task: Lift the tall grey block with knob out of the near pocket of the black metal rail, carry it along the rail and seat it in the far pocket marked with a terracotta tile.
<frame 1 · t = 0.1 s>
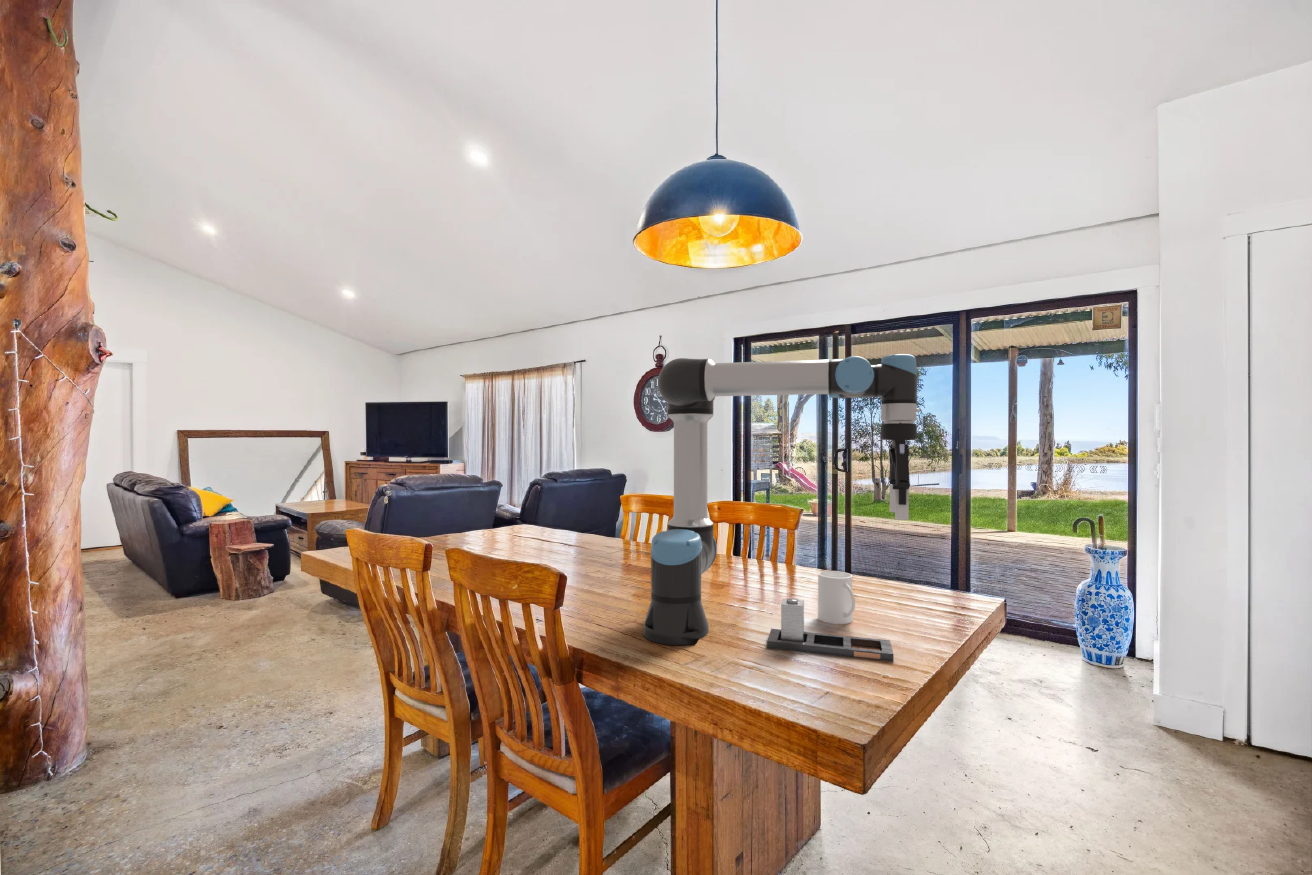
hand: (898, 515, 134), 28 cm above the table, fingers open, 13 cm apart
mug: (838, 625, 143), on the table
rail: (828, 652, 124), on the table
grey block with knob: (792, 643, 127), point 1 cm above the table, touching rail
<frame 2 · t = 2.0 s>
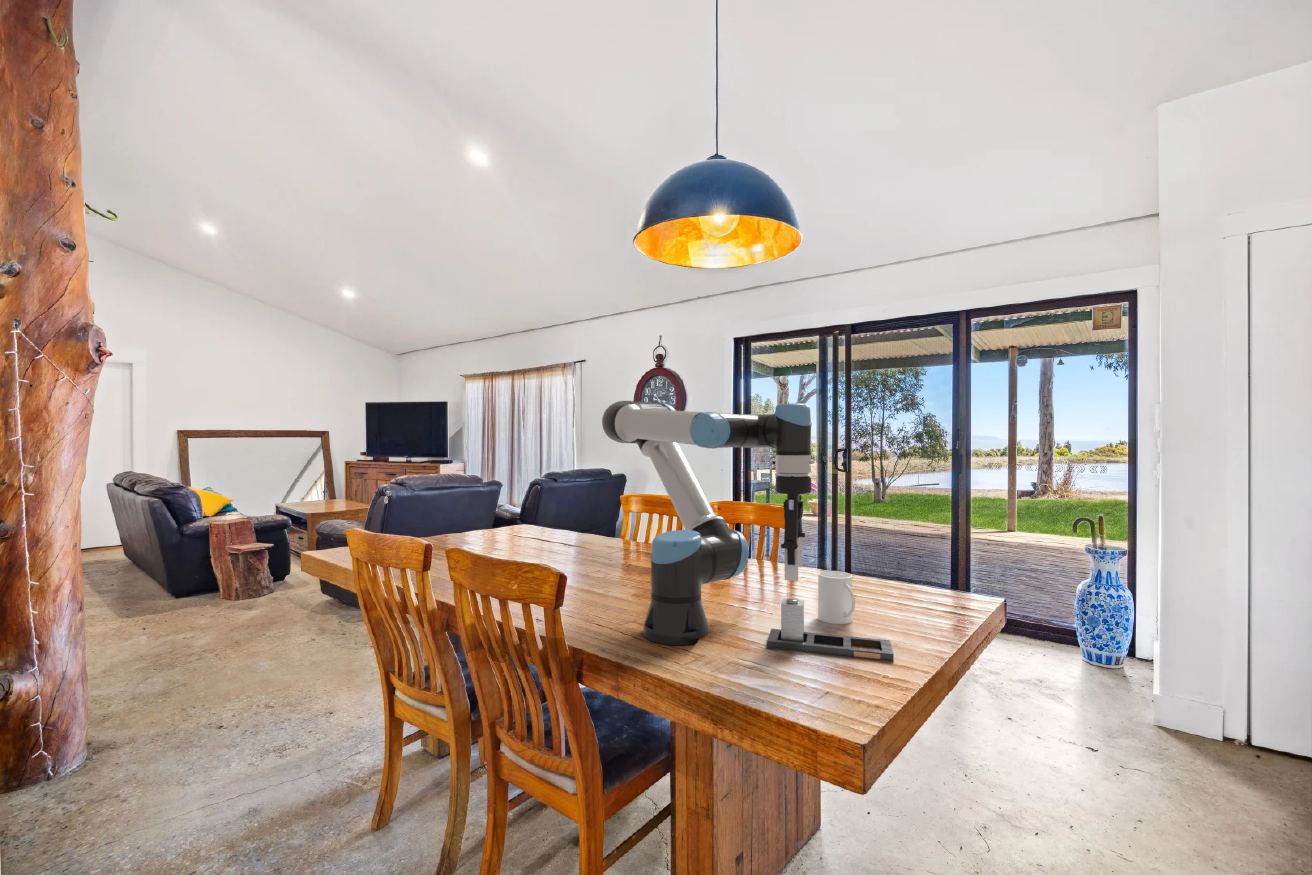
hand: (793, 573, 126), 16 cm above the table, fingers open, 13 cm apart
nothing on the table moved.
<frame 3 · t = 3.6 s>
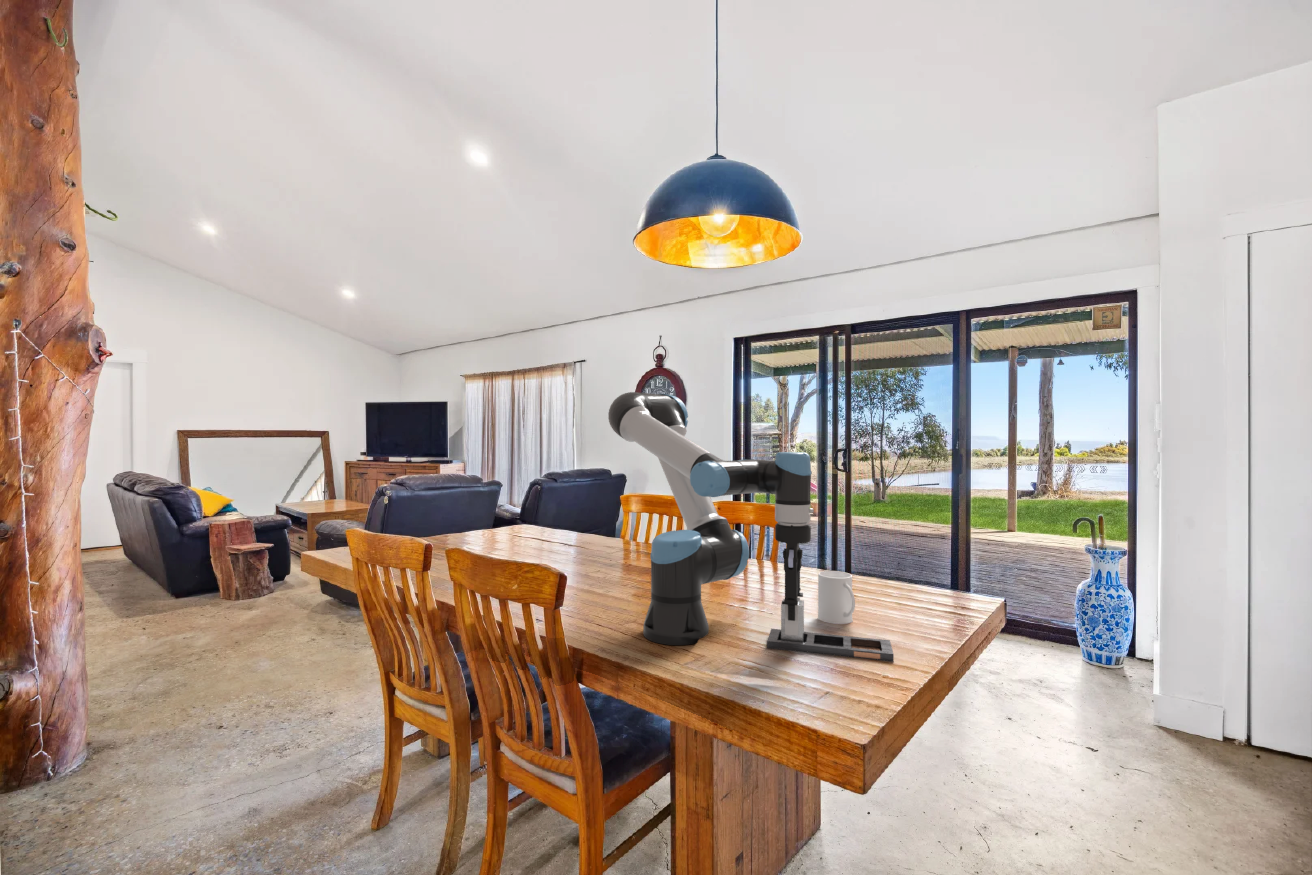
hand: (792, 630, 127), 4 cm above the table, fingers closed on grey block with knob, 4 cm apart
grey block with knob: (792, 643, 127), point 1 cm above the table, touching gripper, rail
everything else where it was.
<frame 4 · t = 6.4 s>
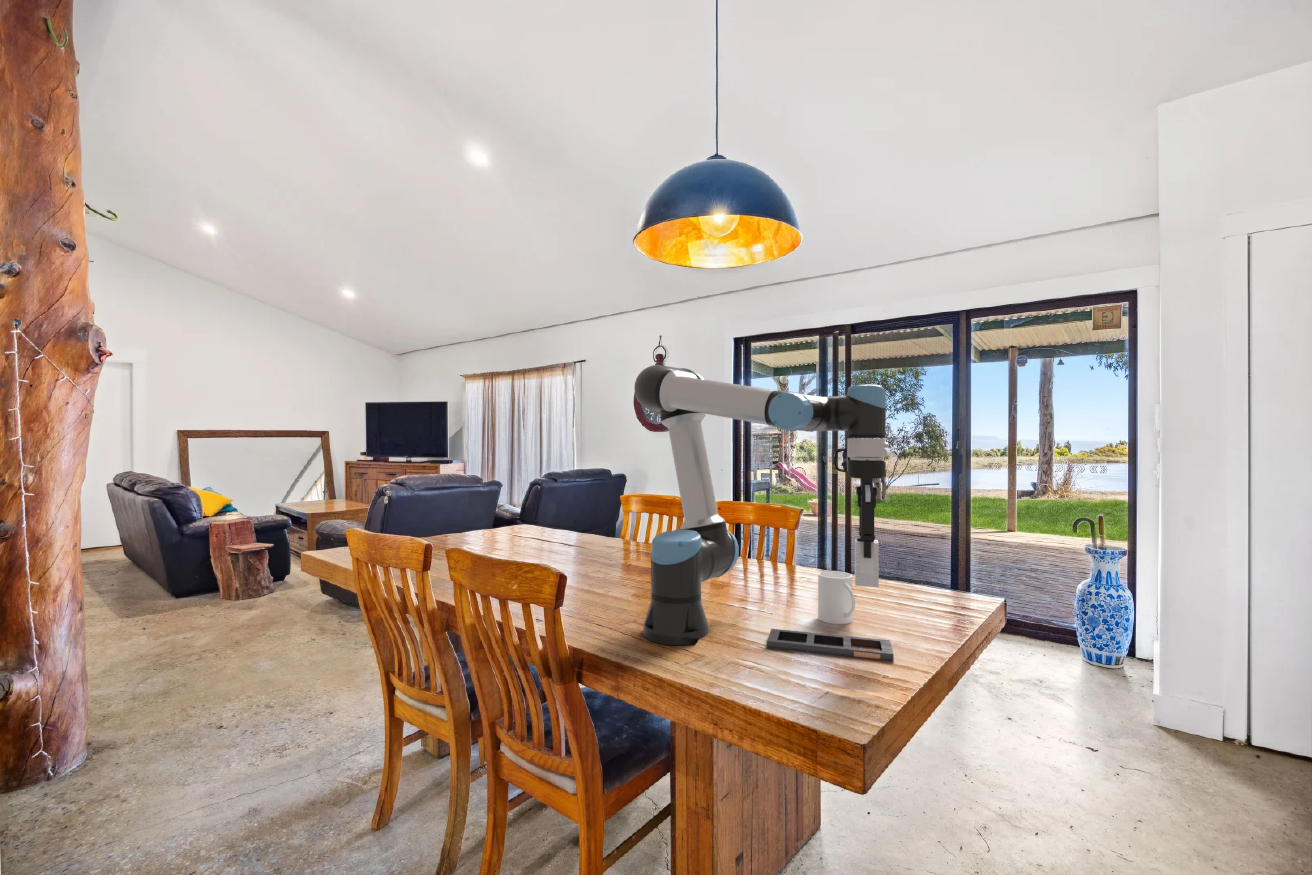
hand: (866, 570, 122), 18 cm above the table, fingers closed on grey block with knob, 4 cm apart
grey block with knob: (866, 583, 122), point 15 cm above the table, touching gripper
everything else where it was.
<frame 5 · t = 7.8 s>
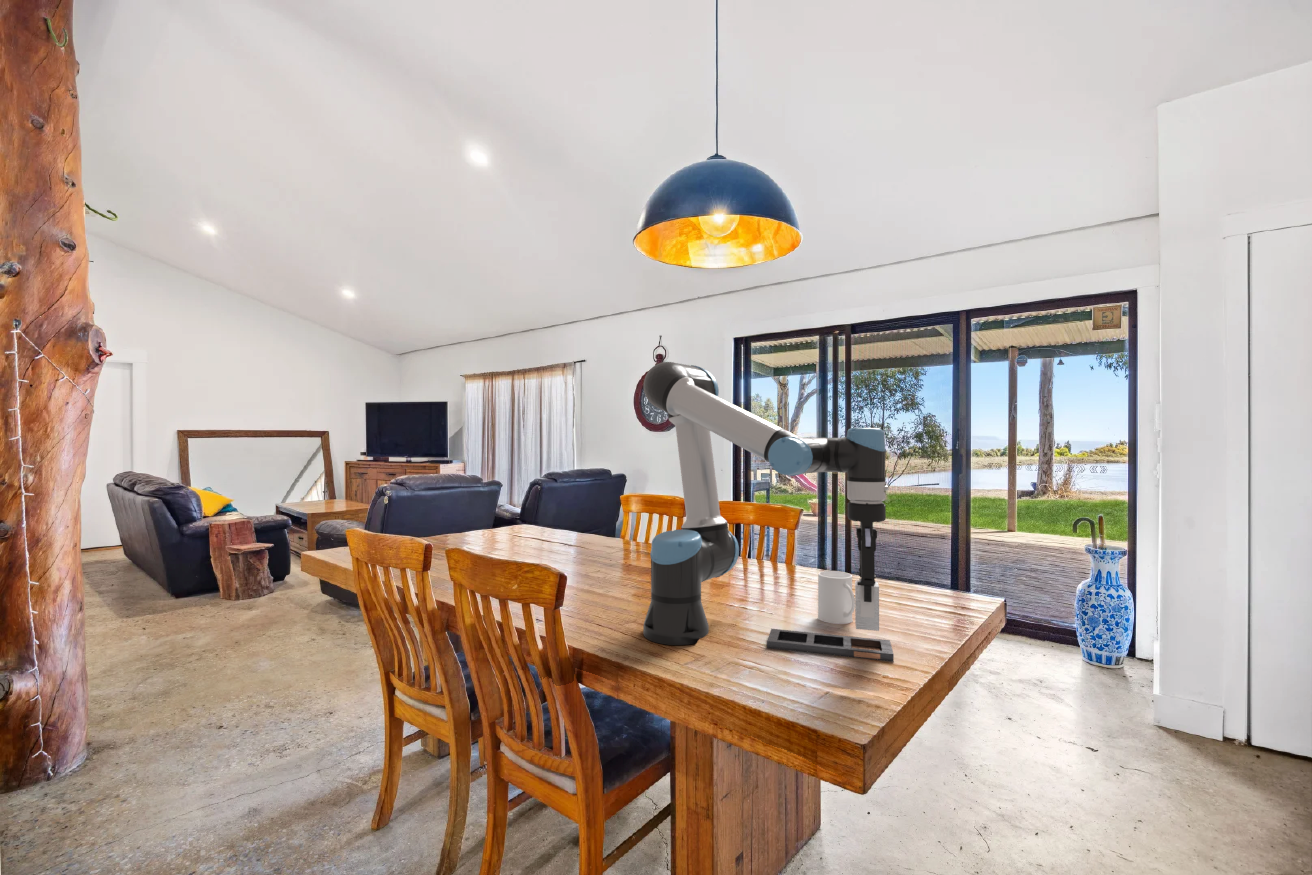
hand: (866, 612, 122), 9 cm above the table, fingers closed on grey block with knob, 4 cm apart
grey block with knob: (867, 626, 122), point 6 cm above the table, touching gripper
everything else where it was.
when the fingers open (5 cm above the table, at t = 9.0 s): grey block with knob stays where it is, resting on rail.
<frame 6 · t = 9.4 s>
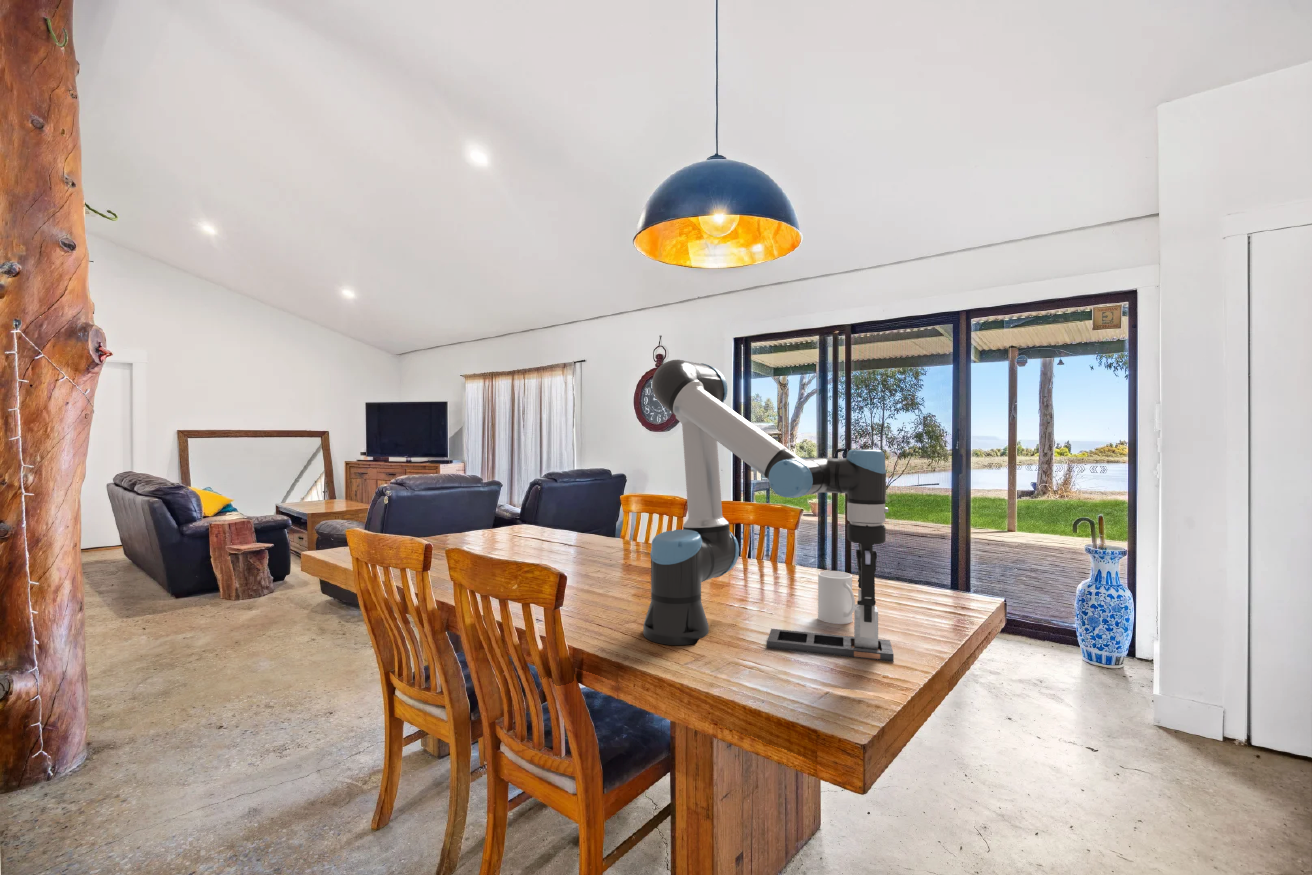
hand: (866, 628, 122), 6 cm above the table, fingers open, 11 cm apart
grey block with knob: (865, 650, 122), point 1 cm above the table, touching rail
everything else where it was.
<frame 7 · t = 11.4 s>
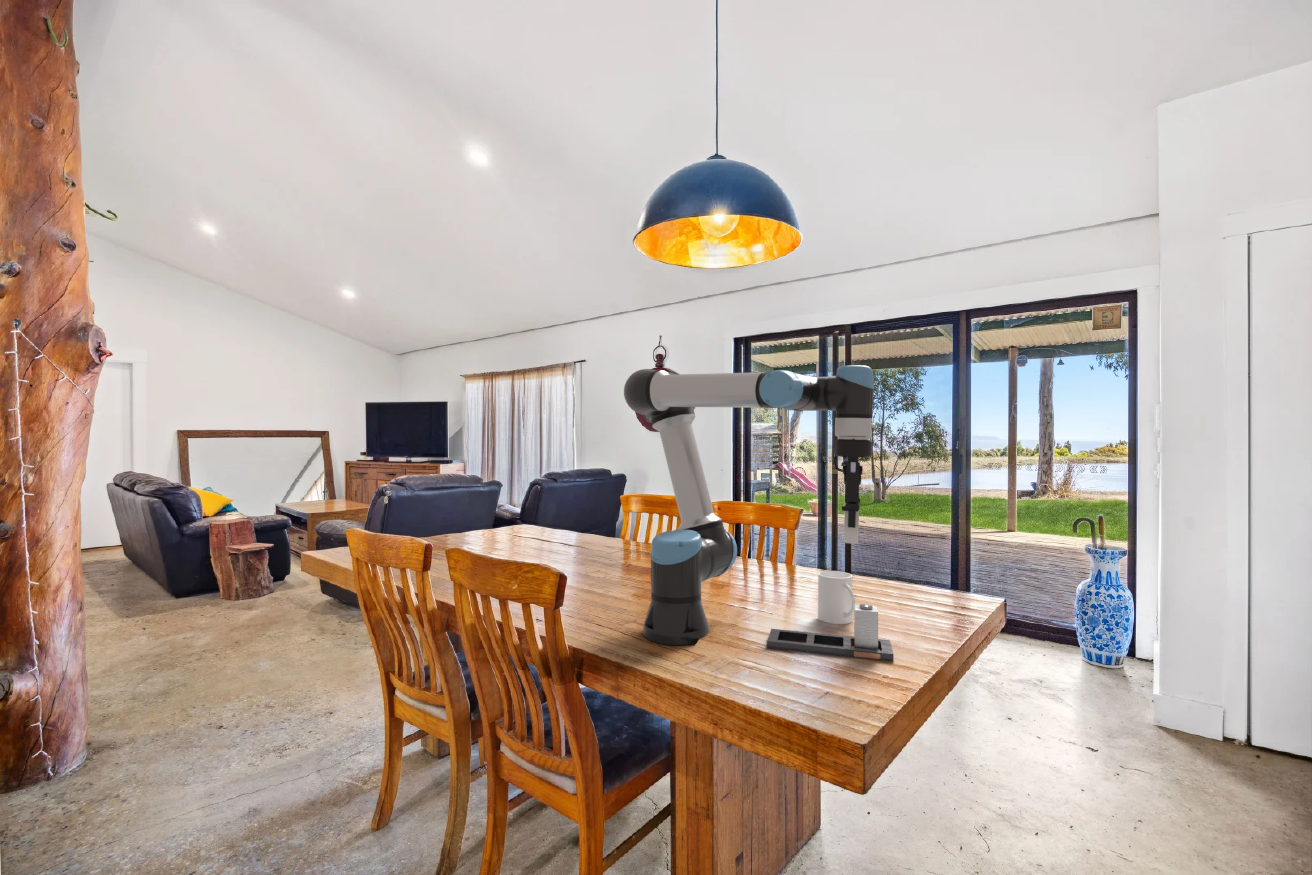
hand: (850, 537, 125), 24 cm above the table, fingers open, 13 cm apart
nothing on the table moved.
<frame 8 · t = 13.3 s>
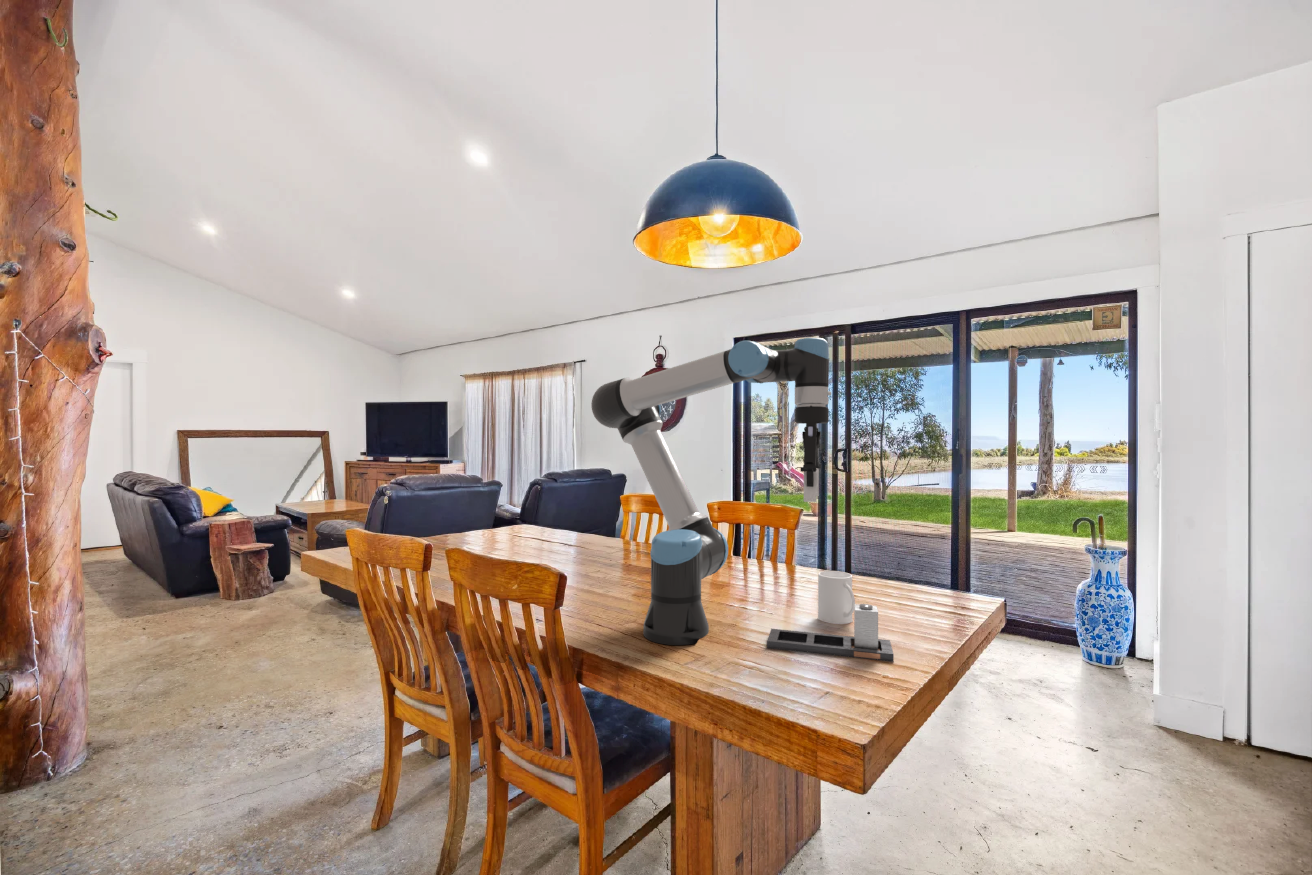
hand: (811, 498, 134), 32 cm above the table, fingers open, 13 cm apart
nothing on the table moved.
at the end: grey block with knob 0.0 cm from the target spot on the rail, point 1.1 cm above the rail's base; grey block with knob tilted 0°; the gripper is holding nothing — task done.
